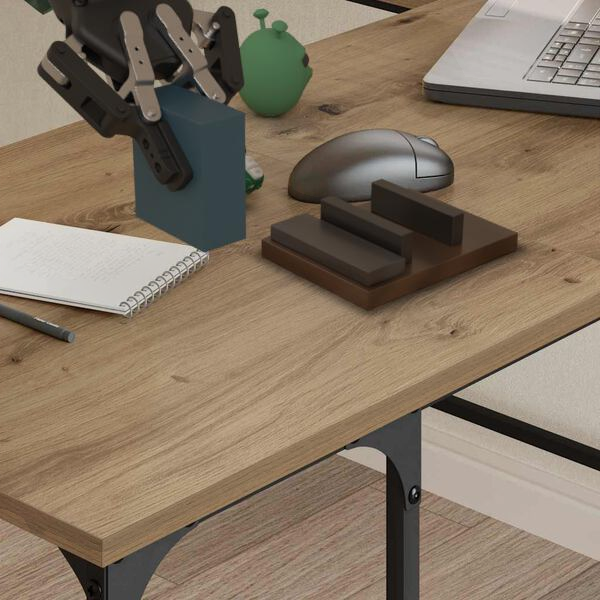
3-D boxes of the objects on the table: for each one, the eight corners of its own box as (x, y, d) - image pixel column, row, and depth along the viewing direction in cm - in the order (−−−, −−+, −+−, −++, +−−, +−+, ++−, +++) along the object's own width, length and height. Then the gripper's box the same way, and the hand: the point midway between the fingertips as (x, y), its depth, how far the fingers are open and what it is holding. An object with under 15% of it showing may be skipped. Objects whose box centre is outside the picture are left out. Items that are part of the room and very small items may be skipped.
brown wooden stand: (367, 310, 101) (369, 260, 99) (261, 256, 109) (260, 208, 107) (517, 250, 110) (521, 202, 109) (408, 204, 118) (410, 159, 117)
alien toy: (325, 118, 137) (327, 17, 133) (253, 130, 134) (252, 27, 130) (293, 97, 143) (293, -1, 138) (223, 108, 140) (221, 8, 135)
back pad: (204, 253, 83) (201, 124, 80) (135, 216, 88) (129, 93, 84) (246, 239, 85) (245, 112, 81) (177, 203, 90) (173, 82, 86)
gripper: (-1, -90, 79) (135, 177, 76) (200, -119, 87) (329, 120, 84) (-38, -14, 85) (86, 235, 82) (153, -48, 93) (272, 177, 90)
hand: (209, 175), depth 83 cm, fingers closed on back pad, 3 cm apart
